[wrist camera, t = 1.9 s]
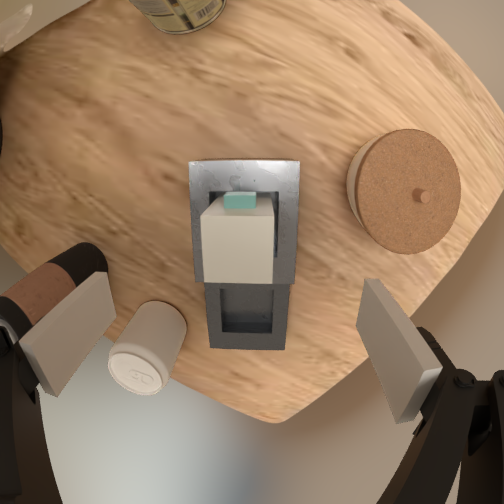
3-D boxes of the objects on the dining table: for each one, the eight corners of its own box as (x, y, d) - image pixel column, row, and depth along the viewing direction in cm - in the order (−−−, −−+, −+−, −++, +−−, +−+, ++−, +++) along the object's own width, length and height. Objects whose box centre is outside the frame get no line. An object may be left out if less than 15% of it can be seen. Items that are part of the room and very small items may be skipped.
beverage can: (142, 290, 39) (106, 339, 27) (194, 311, 39) (172, 368, 28) (134, 330, 41) (103, 380, 30) (180, 349, 42) (159, 406, 31)
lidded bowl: (366, 248, 35) (401, 286, 25) (313, 167, 32) (336, 176, 22) (434, 196, 32) (485, 216, 22) (390, 114, 29) (438, 105, 19)
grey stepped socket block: (214, 330, 40) (205, 367, 33) (205, 158, 32) (188, 161, 25) (283, 332, 40) (286, 370, 32) (291, 158, 32) (299, 161, 24)
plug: (223, 237, 31) (204, 282, 21) (222, 182, 29) (199, 201, 19) (269, 238, 31) (272, 283, 21) (270, 183, 29) (274, 201, 19)
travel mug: (107, 294, 39) (33, 379, 20) (69, 276, 38) (-11, 346, 20) (112, 250, 37) (21, 328, 18) (72, 233, 36) (-24, 293, 17)
